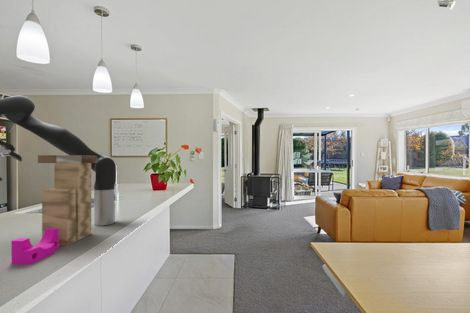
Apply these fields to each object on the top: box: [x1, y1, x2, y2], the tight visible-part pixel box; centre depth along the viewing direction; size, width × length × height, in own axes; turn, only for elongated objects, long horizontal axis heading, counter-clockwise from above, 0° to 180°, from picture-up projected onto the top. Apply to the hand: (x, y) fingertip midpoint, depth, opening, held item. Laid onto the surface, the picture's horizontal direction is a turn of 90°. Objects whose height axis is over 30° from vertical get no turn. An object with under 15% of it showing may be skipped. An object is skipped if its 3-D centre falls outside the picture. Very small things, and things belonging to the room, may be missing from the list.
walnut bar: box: [37, 154, 97, 164], centre depth 116 cm, size 3×24×3 cm, turn 86°
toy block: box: [11, 228, 60, 266], centre depth 94 cm, size 15×6×8 cm, turn 172°
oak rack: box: [41, 154, 92, 246], centre depth 113 cm, size 16×10×34 cm, turn 176°
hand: (11, 169), depth 94 cm, fingers open, 8 cm apart
